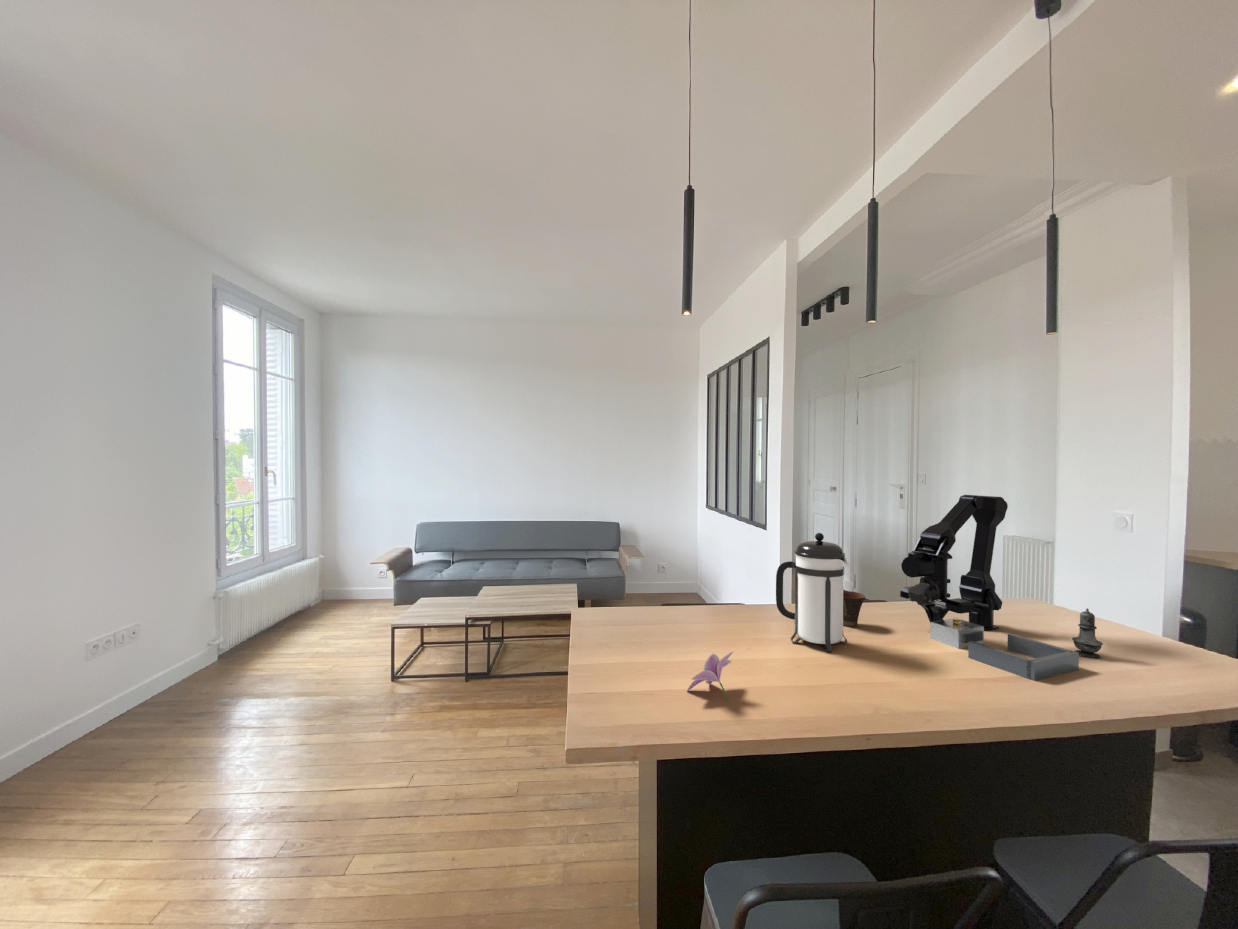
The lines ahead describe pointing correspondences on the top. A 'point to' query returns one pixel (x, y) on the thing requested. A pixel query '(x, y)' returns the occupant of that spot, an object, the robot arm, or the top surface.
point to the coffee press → (816, 592)
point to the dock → (1044, 665)
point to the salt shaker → (1087, 637)
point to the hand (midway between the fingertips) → (934, 629)
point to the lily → (711, 671)
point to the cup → (851, 607)
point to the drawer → (956, 632)
